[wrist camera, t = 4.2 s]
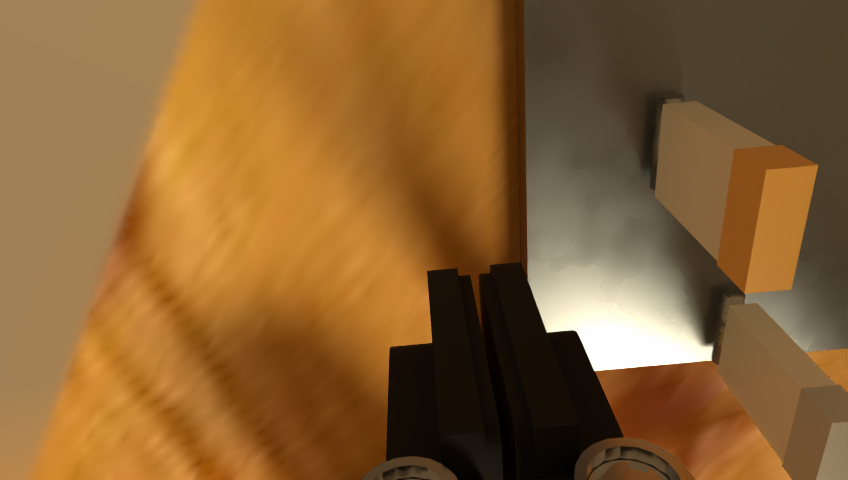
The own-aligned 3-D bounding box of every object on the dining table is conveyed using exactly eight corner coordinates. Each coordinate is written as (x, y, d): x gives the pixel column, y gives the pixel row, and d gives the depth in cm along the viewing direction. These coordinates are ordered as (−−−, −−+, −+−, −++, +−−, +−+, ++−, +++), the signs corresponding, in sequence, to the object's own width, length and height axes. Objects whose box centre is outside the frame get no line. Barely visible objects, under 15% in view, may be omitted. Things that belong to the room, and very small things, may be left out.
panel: (1059, -226, 16) (1134, -245, 15) (889, 319, 25) (925, 348, 23) (512, -170, 17) (524, -183, 15) (522, 352, 25) (530, 383, 23)
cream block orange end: (698, 99, 18) (818, 165, 13) (687, 194, 19) (791, 289, 14) (661, 102, 18) (766, 169, 13) (652, 197, 19) (744, 293, 14)
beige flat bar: (758, 301, 21) (873, 419, 16) (745, 370, 23) (847, 500, 17) (727, 304, 21) (832, 423, 16) (716, 373, 23) (809, 503, 17)
